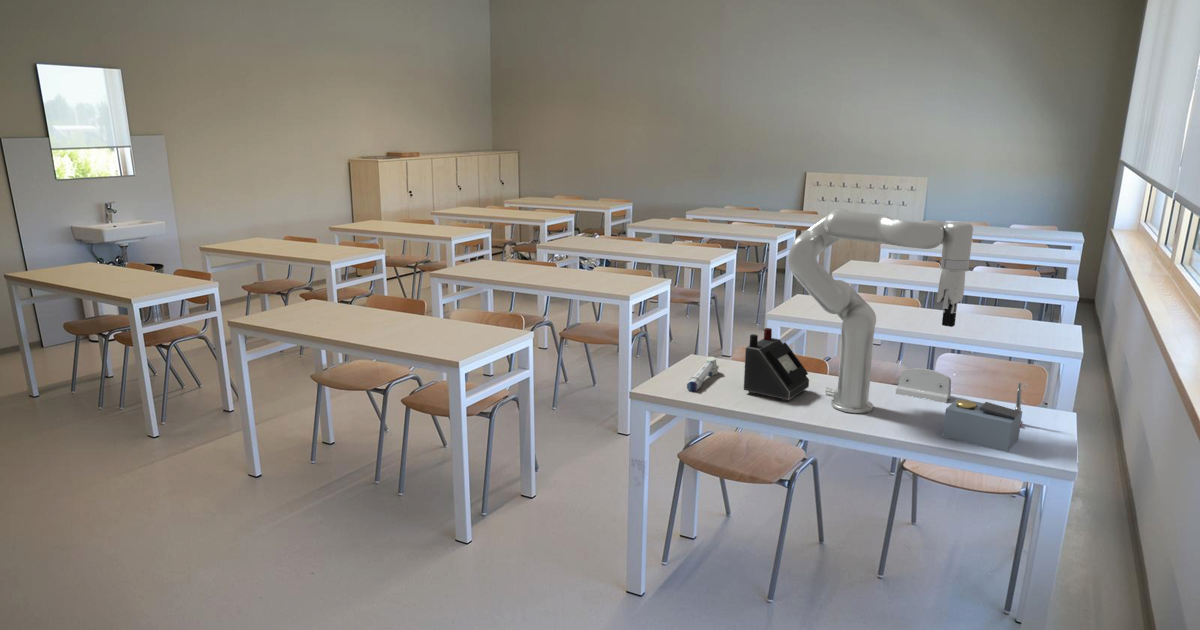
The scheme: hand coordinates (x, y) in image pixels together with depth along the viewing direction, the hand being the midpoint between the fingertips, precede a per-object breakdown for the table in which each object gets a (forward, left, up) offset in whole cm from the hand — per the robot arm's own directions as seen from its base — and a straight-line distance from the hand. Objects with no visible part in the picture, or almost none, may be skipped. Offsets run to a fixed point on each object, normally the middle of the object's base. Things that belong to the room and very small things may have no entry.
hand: (948, 325), depth 230 cm
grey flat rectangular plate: (+19, -9, -20) cm, 29 cm away
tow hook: (+16, +9, -29) cm, 35 cm away
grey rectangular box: (+14, -9, -29) cm, 34 cm away
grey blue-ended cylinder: (-74, -17, -30) cm, 82 cm away
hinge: (-11, +19, -30) cm, 36 cm away
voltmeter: (-49, -11, -29) cm, 58 cm away
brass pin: (+10, -9, -29) cm, 32 cm away
